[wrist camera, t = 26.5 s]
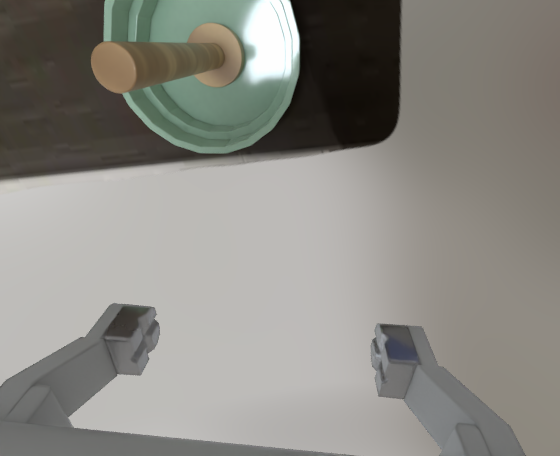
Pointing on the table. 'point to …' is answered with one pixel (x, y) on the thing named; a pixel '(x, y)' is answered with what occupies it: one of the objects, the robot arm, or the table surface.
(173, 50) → the tan wooden rod
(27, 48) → the table surface
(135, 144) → the table surface
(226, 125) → the bowl
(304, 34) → the table surface
